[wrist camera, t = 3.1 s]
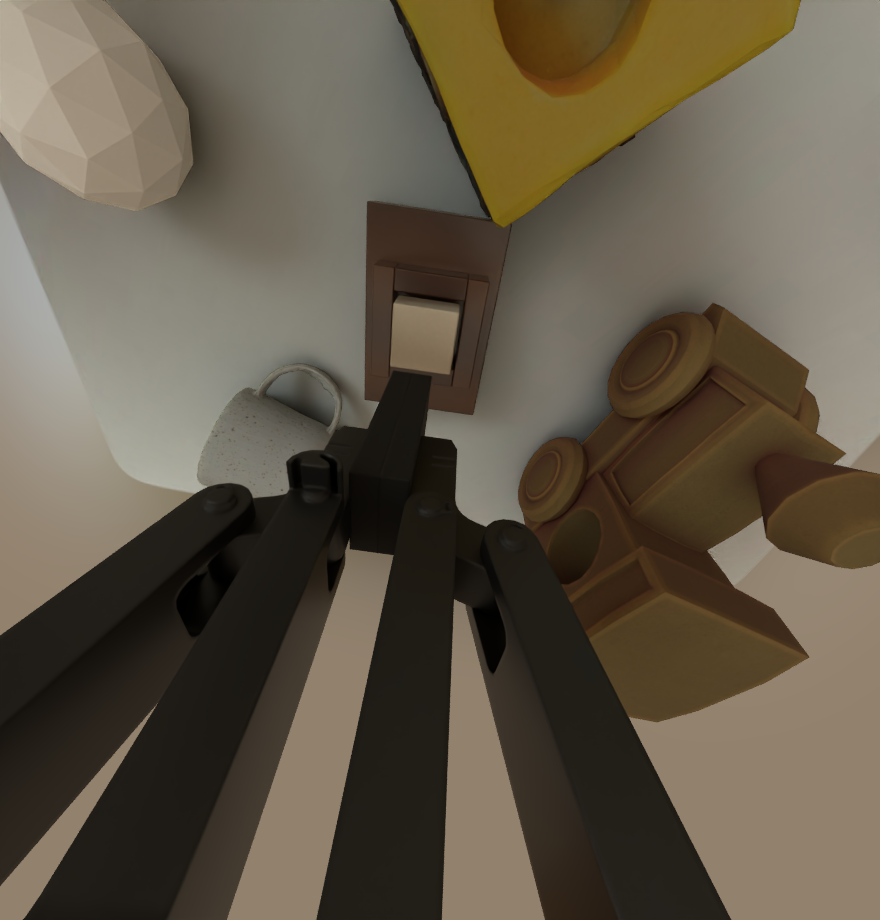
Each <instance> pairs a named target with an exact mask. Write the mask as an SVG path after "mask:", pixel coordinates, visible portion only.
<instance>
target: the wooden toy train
mask: <svg viewBox="0 0 880 920" xmlns="http://www.w3.org/2000/svg"><path fill="white" fill-rule="evenodd" d="M808 373H809V370H808V369H807V368H806V367H804V366H803V365H802V364H800V363H799V362H798V361H796V360H795V359H793V358H792V357H791V356H789V355H788V354H787V353H785V352H784V351H782V350H781V349H780V348H778V347H777V346H776V345H774V344H773V343H772V342H770V341H769V340H767V339H766V338H765V337H763V336H762V335H761V334H759V333H758V332H757V331H755V330H754V329H752V328H751V327H750V326H748V325H747V324H746V323H744V322H743V321H741V320H740V319H739V318H737V317H736V316H735V315H733V314H732V313H731V312H729V311H728V310H726V309H725V308H724V307H721V306H719V305H717V304H714V303H712V304H711V305H710V307H709V308H708V309H707V310H706V311H705V312H704V313H703V314H702V315H701V314H695V313H688V312H680V313H676V314H672V315H668V316H665V317H663V318H661V319H659V320H657V321H655V322H653V323H651V324H650V325H649V326H647V327H646V328H645V329H644V330H642V331H641V332H640V333H639V334H638V335H637V336H636V337H635V338H634V339H633V340H632V341H631V342H630V343H629V344H628V345H627V346H626V348H625V349H624V350H623V352H622V353H621V354H620V356H619V357H618V359H617V361H616V363H615V364H614V366H613V368H612V371H611V374H610V377H609V380H608V398H609V401H610V404H611V406H612V407H613V409H614V410H613V411H612V412H611V413H610V414H609V415H608V416H607V417H606V418H605V419H604V420H603V422H602V423H601V424H600V425H599V426H598V427H597V428H596V429H595V430H594V431H593V432H592V433H591V434H590V436H589V437H588V438H587V439H586V440H585V441H584V442H583V443H582V444H581V445H580V444H579V442H578V441H577V440H576V439H573V438H569V437H561V438H557V439H553V440H551V441H549V442H547V443H546V444H544V445H543V446H542V447H541V448H540V449H539V450H538V451H537V452H536V453H535V454H534V455H533V457H532V458H531V459H530V461H529V462H528V464H527V466H526V468H525V470H524V472H523V475H522V477H521V480H520V484H519V490H518V500H519V504H520V507H521V510H522V512H523V515H524V521H525V526H526V527H528V528H529V529H531V530H532V531H533V533H534V534H535V535H536V536H537V538H538V540H539V542H540V543H541V545H542V547H543V549H544V551H545V553H546V555H547V557H548V559H549V561H550V563H551V565H552V567H553V569H554V571H555V573H556V575H557V577H558V579H559V581H560V583H561V585H562V587H563V589H564V591H565V593H566V595H567V597H568V599H569V601H570V603H571V605H572V607H573V609H574V611H575V613H576V615H577V617H578V618H579V620H580V622H581V624H582V626H583V628H584V630H585V632H586V634H587V636H588V638H589V640H590V642H591V644H592V646H593V648H594V650H595V652H596V654H597V656H598V658H599V660H600V662H601V664H602V666H603V668H604V670H605V672H606V674H607V676H608V678H609V680H610V682H611V684H612V686H613V688H614V690H615V692H616V693H617V695H618V697H619V699H620V701H621V703H622V705H623V707H624V709H625V711H626V713H627V715H628V717H633V718H638V719H643V720H648V721H653V722H659V721H663V720H667V719H670V718H673V717H677V716H681V715H684V714H688V713H692V712H695V711H699V710H701V709H703V708H705V707H708V706H710V705H713V704H715V703H718V702H720V701H723V700H725V699H727V698H730V697H732V696H735V695H737V694H739V693H741V692H744V691H747V690H749V689H752V688H754V687H756V686H759V685H761V684H764V683H766V682H767V681H769V680H771V679H773V678H774V677H776V676H778V675H780V674H781V673H783V672H785V671H786V670H788V669H790V668H791V667H793V666H795V665H797V664H799V663H800V662H802V661H804V660H805V659H807V658H809V656H808V655H807V653H806V652H805V650H804V649H803V648H802V646H801V645H800V644H799V642H798V641H797V640H796V638H795V637H794V636H793V634H792V633H791V632H790V630H789V629H788V628H787V626H786V625H785V624H784V622H783V621H782V620H781V618H780V617H779V616H778V614H777V613H776V612H775V610H774V609H773V608H771V607H769V606H767V605H765V604H763V603H761V602H760V601H757V600H756V599H754V598H752V597H750V596H749V595H747V594H745V593H743V592H741V591H739V590H737V589H735V588H734V587H733V585H732V584H731V582H730V581H729V580H728V578H727V577H726V575H725V574H724V572H723V571H722V570H721V568H720V567H719V566H718V565H717V563H716V562H715V561H714V559H713V558H712V557H711V555H710V554H709V553H708V551H707V550H708V549H710V548H712V547H714V546H715V545H717V544H719V543H720V542H722V541H724V540H726V539H727V538H729V537H731V536H733V535H734V534H736V533H738V532H739V531H741V530H742V529H744V528H745V527H747V526H748V525H750V524H751V523H752V522H754V521H755V520H757V519H758V518H760V517H761V516H763V522H764V528H765V534H766V538H767V539H768V540H769V541H770V542H771V543H773V544H774V545H775V546H776V547H777V548H778V549H780V550H782V551H785V552H789V553H792V554H795V555H799V556H802V557H806V558H809V559H812V560H816V561H819V562H822V563H826V564H829V565H832V566H836V567H841V568H849V569H855V568H861V567H867V566H872V565H874V564H877V563H879V562H880V474H877V473H872V472H867V471H862V470H858V469H853V468H848V467H843V466H839V465H834V463H835V462H836V461H837V460H839V459H840V458H841V457H843V456H844V455H845V454H846V453H845V452H843V451H842V450H840V449H839V448H837V447H836V446H834V445H833V444H831V443H830V442H829V441H827V440H826V439H824V438H823V437H821V436H820V435H818V434H817V433H816V432H817V427H818V422H819V417H820V415H819V409H818V405H817V402H816V399H815V396H814V395H813V394H812V393H810V392H809V391H808V390H807V389H806V388H805V384H806V380H807V377H808Z"/></svg>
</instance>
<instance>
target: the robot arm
mask: <svg viewBox="0 0 880 920" xmlns="http://www.w3.org/2000/svg"><path fill="white" fill-rule="evenodd" d="M431 380H432V376H429V375H422V374H415V373H408V372H401V371H395V370H393V372H392V374H391V377H390V379H389V381H388V384H387V386H386V388H385V390H384V393H383V395H382V397H381V400H380V402H379V404H378V406H377V409H376V411H375V413H374V416H373V418H372V420H371V422H370V425H369V427H368V429H363V428H356V427H349V426H344V427H342V428H341V429H339V430H338V431H336V432H334V433H333V435H332V437H331V438H330V440H329V442H328V444H327V445H326V447H325V449H324V450H308V451H303V452H300V453H298V454H295V455H293V456H292V457H290V458H289V459H288V460H287V461H286V466H287V474H288V481H289V490H288V492H287V493H286V494H283V495H278V496H270V497H258V498H253V496H252V494H251V492H250V490H249V489H248V488H246V487H245V486H243V485H240V484H234V483H223V484H216V485H213V486H210V487H206V488H205V489H203V490H201V491H199V492H197V493H196V494H194V495H193V496H192V497H190V498H189V499H187V500H186V501H185V502H183V503H182V504H181V505H179V506H178V507H176V508H175V509H174V510H173V511H171V512H170V513H168V514H167V515H166V516H164V517H163V518H161V519H160V520H159V521H157V522H156V523H154V524H153V525H152V526H150V527H149V528H148V529H146V530H145V531H143V532H142V533H141V534H139V535H138V536H137V537H135V538H134V539H133V540H131V541H130V542H128V543H127V544H126V545H124V546H123V547H121V548H120V549H119V550H118V551H116V552H115V553H113V554H112V555H111V556H109V557H108V558H106V559H105V560H104V561H102V562H101V563H99V564H98V565H97V566H95V567H94V568H93V569H91V570H90V571H88V572H87V573H86V574H84V575H83V576H81V577H80V578H79V579H77V580H76V581H75V582H73V583H72V584H70V585H69V586H68V587H66V588H65V589H64V590H62V591H61V592H60V593H58V594H57V595H55V596H54V597H53V598H51V599H50V600H48V601H47V602H46V603H44V604H43V605H42V606H40V607H39V608H37V609H36V610H35V611H33V612H32V613H31V614H29V615H28V616H27V617H25V618H24V619H22V620H21V621H20V622H18V623H17V624H15V625H14V626H13V627H11V628H10V629H9V630H7V631H6V632H4V633H3V634H2V635H0V886H1V884H2V883H3V882H4V881H5V880H6V879H7V877H8V876H9V875H10V874H11V873H12V872H13V871H14V869H15V868H16V867H17V866H18V865H19V864H20V862H21V861H22V860H23V859H24V858H25V857H26V855H27V854H28V853H29V852H30V851H31V849H32V848H33V847H34V846H35V845H36V844H37V843H38V842H39V840H40V839H41V838H42V837H43V836H44V835H45V833H46V832H47V831H48V830H49V829H50V827H51V826H52V825H53V824H54V823H55V822H56V821H57V819H58V818H59V817H60V816H61V815H62V814H63V812H64V811H65V810H66V809H67V808H68V807H69V806H70V804H71V803H72V802H73V801H74V800H75V798H76V797H77V796H78V795H79V794H80V793H81V792H82V790H83V789H84V788H85V787H86V785H88V783H89V782H90V781H91V780H92V779H93V778H94V776H95V775H96V774H97V773H98V772H99V771H100V769H101V768H102V767H103V766H104V765H105V763H106V762H107V761H108V760H109V759H110V758H111V757H112V755H113V754H114V753H115V752H116V751H117V750H118V749H119V747H120V746H121V745H122V744H123V743H124V741H125V740H126V739H127V738H128V737H129V736H130V734H131V733H132V732H133V731H134V730H135V729H136V728H137V727H138V725H139V724H140V723H141V722H142V721H143V719H144V718H145V717H146V716H147V715H148V713H150V711H151V710H152V709H153V708H154V707H155V706H156V704H157V703H158V704H157V706H156V707H155V709H154V711H153V712H152V714H151V715H150V717H149V719H148V720H147V722H146V724H145V725H144V727H143V729H142V730H141V732H140V734H139V735H138V737H137V738H136V740H135V742H134V744H133V745H132V747H131V748H130V750H129V751H128V753H127V755H126V756H125V758H124V760H123V761H122V763H121V764H120V766H119V768H118V769H117V771H116V773H115V774H114V776H113V778H112V779H111V781H110V782H109V784H108V786H107V787H106V789H105V791H104V792H103V794H102V796H101V797H100V799H99V800H98V802H97V804H96V806H95V807H94V809H93V811H92V812H91V813H90V815H89V817H88V818H87V820H86V822H85V823H84V825H83V826H82V828H81V830H80V831H79V833H78V835H77V836H76V838H75V840H74V841H73V843H72V845H71V846H70V848H69V849H68V851H67V853H66V854H65V856H64V857H63V860H62V861H61V862H60V864H59V866H58V867H57V869H56V871H55V872H54V874H53V875H52V877H51V879H50V881H49V882H48V884H47V885H46V887H45V888H44V890H43V892H42V894H41V895H40V897H39V898H38V900H37V901H36V902H35V904H34V905H33V907H32V908H31V910H30V911H29V913H28V914H27V916H26V917H25V918H24V919H23V920H227V917H228V914H229V911H230V908H231V905H232V902H233V899H234V896H235V893H236V890H237V887H238V884H239V881H240V878H241V875H242V872H243V869H244V866H245V863H246V860H247V857H248V854H249V851H250V848H251V845H252V842H253V839H254V836H255V833H256V830H257V827H258V824H259V821H260V818H261V815H262V812H263V809H264V806H265V803H266V800H267V797H268V794H269V791H270V788H271V785H272V782H273V779H274V776H275V773H276V770H277V767H278V764H279V761H280V758H281V755H282V752H283V749H284V746H285V743H286V740H287V737H288V734H289V731H290V728H291V725H292V722H293V719H294V716H295V713H296V710H297V707H298V704H299V701H300V698H301V695H302V692H303V689H304V686H305V683H306V680H307V677H308V674H309V671H310V668H311V665H312V662H313V659H314V656H315V653H316V650H317V647H318V644H319V641H320V638H321V635H322V632H323V629H324V626H325V623H326V620H327V617H328V614H329V611H330V608H331V605H332V602H333V599H334V596H335V593H336V590H337V587H338V584H339V581H340V578H341V575H342V572H343V569H344V566H345V550H346V547H347V544H348V541H349V538H350V549H353V550H360V551H367V552H375V553H382V554H390V555H394V556H393V561H392V566H391V570H390V575H389V580H388V585H387V589H386V594H385V599H384V603H383V608H382V613H381V618H380V623H379V627H378V632H377V637H376V641H375V646H374V651H373V656H372V660H371V665H370V670H369V674H368V679H367V684H366V688H365V693H364V698H363V702H362V707H361V712H360V717H359V721H358V726H357V731H356V736H355V741H354V745H353V750H352V755H351V759H350V764H349V769H348V773H347V778H346V783H345V787H344V792H343V797H342V802H341V806H340V811H339V816H338V820H337V825H336V830H335V835H334V839H333V844H332V849H331V854H330V858H329V863H328V868H327V873H326V877H325V882H324V887H323V891H322V896H321V901H320V905H319V910H318V915H317V920H442V898H443V872H444V871H443V870H444V846H445V845H444V843H445V818H446V792H447V766H448V740H449V712H450V686H451V685H450V684H451V659H452V633H453V606H454V599H455V600H457V601H459V602H462V603H464V604H466V610H467V614H468V618H469V622H470V626H471V630H472V634H473V638H474V642H475V646H476V650H477V654H478V658H479V662H480V666H481V669H482V673H483V677H484V681H485V685H486V689H487V693H488V697H489V701H490V705H491V709H492V713H493V717H494V721H495V725H496V728H497V732H498V736H499V740H500V744H501V748H502V752H503V756H504V760H505V764H506V767H507V772H508V775H509V780H510V784H511V787H512V791H513V795H514V799H515V803H516V807H517V811H518V815H519V819H520V823H521V827H522V831H523V834H524V839H525V842H526V846H527V850H528V854H529V858H530V862H531V866H532V870H533V873H534V878H535V882H536V886H537V890H538V894H539V898H540V902H541V906H542V909H543V913H544V917H545V920H731V918H730V916H729V915H728V913H727V911H726V909H725V907H724V905H723V903H722V901H721V899H720V897H719V895H718V893H717V891H716V889H715V887H714V885H713V883H712V881H711V879H710V877H709V876H708V873H707V871H706V869H705V867H704V865H703V863H702V861H701V859H700V857H699V855H698V853H697V851H696V849H695V848H694V845H693V843H692V842H691V840H690V838H689V836H688V834H687V832H686V830H685V828H684V826H683V824H682V822H681V820H680V818H679V816H678V814H677V812H676V810H675V808H674V806H673V804H672V802H671V800H670V798H669V796H668V794H667V792H666V790H665V788H664V786H663V784H662V782H661V781H660V778H659V776H658V774H657V772H656V771H655V769H654V767H653V765H652V763H651V761H650V759H649V757H648V755H647V753H646V751H645V749H644V747H643V745H642V743H641V741H640V739H639V737H638V735H637V733H636V731H635V729H634V727H633V725H632V723H631V721H630V719H629V717H628V715H627V713H626V711H625V709H624V707H623V705H622V703H621V701H620V699H619V697H618V695H617V693H616V692H615V690H614V688H613V686H612V684H611V682H610V680H609V678H608V676H607V674H606V672H605V670H604V668H603V666H602V664H601V662H600V660H599V658H598V656H597V654H596V652H595V650H594V648H593V646H592V644H591V642H590V640H589V638H588V636H587V634H586V632H585V630H584V628H583V626H582V624H581V622H580V620H579V618H578V617H577V615H576V613H575V611H574V609H573V607H572V605H571V603H570V601H569V599H568V597H567V595H566V593H565V591H564V589H563V587H562V585H561V583H560V581H559V579H558V577H557V575H556V573H555V571H554V569H553V567H552V565H551V563H550V561H549V559H548V557H547V555H546V553H545V551H544V549H543V547H542V545H541V543H540V542H539V540H538V538H537V536H536V535H535V534H534V533H533V531H532V530H531V529H529V528H528V527H526V526H525V525H524V524H521V523H519V522H516V521H513V520H504V519H502V520H497V521H494V522H492V523H491V524H489V525H488V526H487V527H485V526H483V525H480V524H478V523H475V522H473V521H471V520H469V519H468V518H467V517H465V516H464V515H463V514H462V513H461V512H460V511H459V510H458V508H457V506H456V502H455V489H456V465H457V448H456V447H455V445H454V444H453V442H452V440H448V439H441V438H434V437H427V436H425V428H426V420H427V412H428V404H429V396H430V388H431Z"/></svg>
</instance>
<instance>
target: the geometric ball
mask: <svg viewBox="0 0 880 920" xmlns="http://www.w3.org/2000/svg"><path fill="white" fill-rule="evenodd" d="M0 132H1V133H2V135H3V136H4V137H5V138H6V140H7V141H8V142H9V144H10V145H11V146H12V147H13V149H14V150H15V151H16V153H17V154H18V155H19V156H20V158H21V159H22V160H23V162H24V163H26V164H28V165H29V166H31V167H33V168H34V169H36V170H37V171H39V172H41V173H42V174H44V175H45V176H47V177H49V178H50V179H52V180H53V181H55V182H57V183H58V184H60V185H62V186H63V187H65V188H66V189H68V190H70V191H71V192H73V193H74V194H76V195H78V196H79V197H81V198H82V199H85V200H89V201H94V202H98V203H103V204H107V205H111V206H116V207H120V208H125V209H129V210H134V211H138V210H141V209H143V208H146V207H148V206H151V205H154V204H156V203H159V202H161V201H164V200H166V199H169V198H171V197H174V196H176V195H177V193H178V191H179V189H180V187H181V185H182V184H183V182H184V180H185V178H186V176H187V174H188V173H189V171H190V169H191V167H192V165H193V155H192V144H191V134H190V123H189V113H188V108H187V107H186V105H185V103H184V101H183V100H182V98H181V96H180V94H179V93H178V91H177V89H176V87H175V86H174V84H173V82H172V80H171V79H170V77H169V75H168V73H167V72H166V70H165V68H164V66H163V65H162V63H161V61H160V59H159V58H158V57H157V56H156V55H155V54H154V53H153V51H152V50H151V49H150V48H149V47H148V46H147V45H146V44H145V43H144V42H143V41H142V40H141V39H140V38H139V36H138V35H137V34H136V33H135V32H134V31H133V30H132V29H131V28H130V27H129V26H128V25H127V24H126V23H125V22H124V20H123V19H122V18H121V17H120V16H119V15H118V14H117V13H116V12H115V11H114V10H113V9H112V8H111V7H110V6H109V4H108V3H107V2H106V1H103V0H0Z"/></svg>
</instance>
